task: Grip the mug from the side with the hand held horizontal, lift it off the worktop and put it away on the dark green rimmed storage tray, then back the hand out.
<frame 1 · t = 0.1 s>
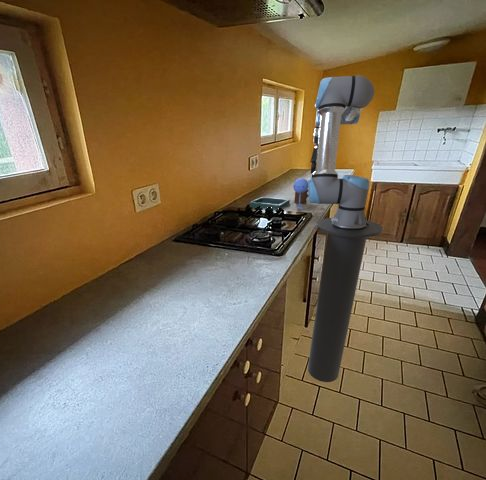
hand: (316, 172, 194), 18 cm above the worktop, tool pointing down, fingers open, 13 cm apart
mug: (303, 202, 198), on the worktop
tray: (269, 205, 192), on the worktop
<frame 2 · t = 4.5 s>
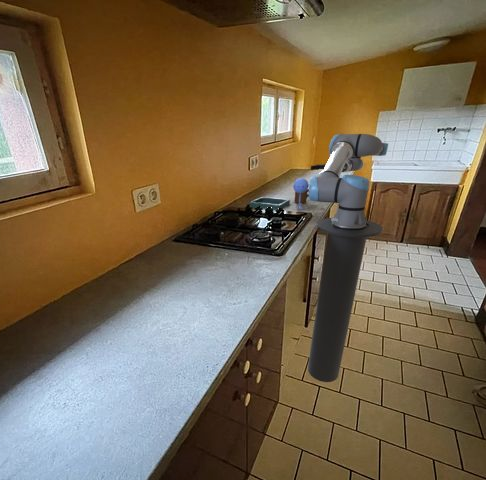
hand: (318, 168, 192), 20 cm above the worktop, tool horizontal, fingers open, 13 cm apart
nothing on the worktop moved.
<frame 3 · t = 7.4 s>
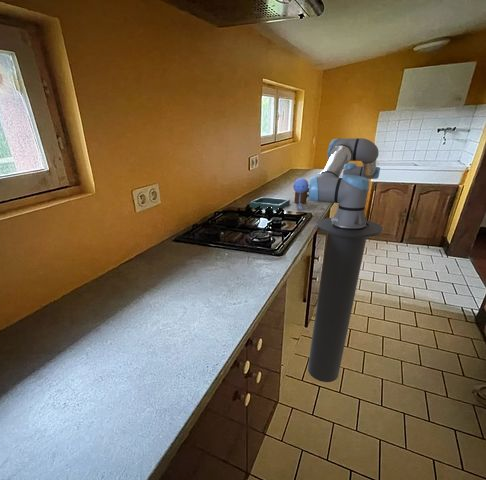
hand: (312, 191, 197), 6 cm above the worktop, tool horizontal, fingers open, 13 cm apart
nothing on the worktop moved.
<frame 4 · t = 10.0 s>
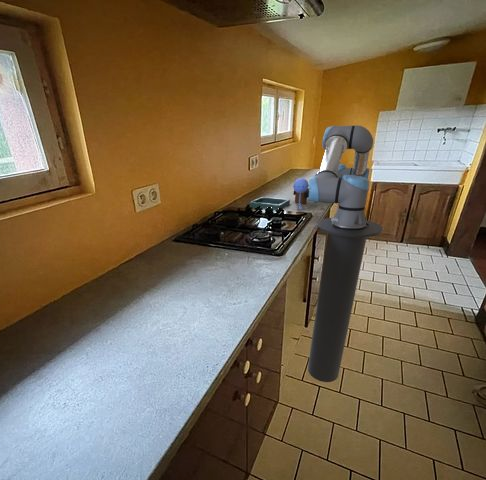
hand: (299, 193, 193), 6 cm above the worktop, tool horizontal, fingers closed on mug, 9 cm apart
mug: (303, 203, 197), on the worktop, touching gripper
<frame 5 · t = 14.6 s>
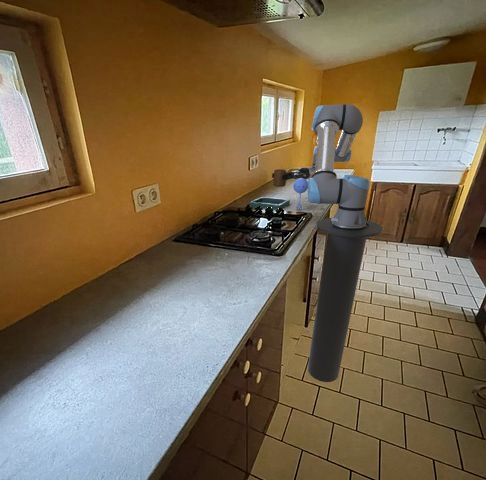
hand: (277, 176, 185), 18 cm above the worktop, tool horizontal, fingers closed on mug, 9 cm apart
mug: (282, 186, 188), point 12 cm above the worktop, touching gripper
when the fingers open (7 cm above the worktop, at t = 19.3 s): mug stays where it is, resting on tray.
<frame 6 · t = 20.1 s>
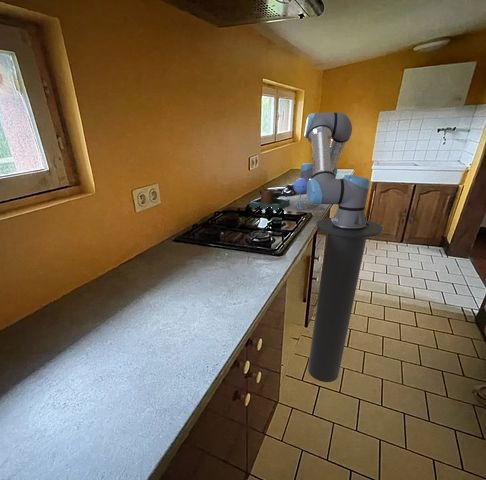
hand: (266, 193, 188), 8 cm above the worktop, tool horizontal, fingers open, 13 cm apart
mug: (270, 205, 192), resting on tray
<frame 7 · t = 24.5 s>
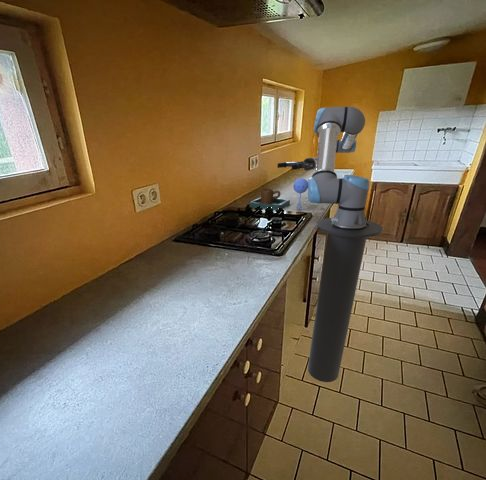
hand: (284, 166, 186), 23 cm above the worktop, tool horizontal, fingers open, 13 cm apart
nothing on the worktop moved.
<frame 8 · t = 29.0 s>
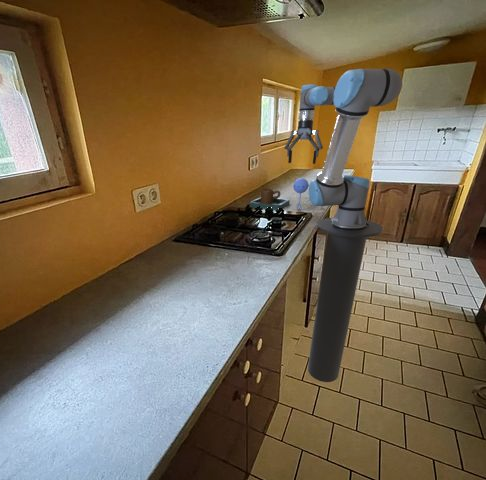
hand: (301, 163, 166), 27 cm above the worktop, tool pointing down, fingers open, 13 cm apart
nothing on the worktop moved.
at the end: mug inside the target area in the tray (0.6 cm from its centre), point 0.4 cm above the tray's base; mug tilted 0°; the gripper is holding nothing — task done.
